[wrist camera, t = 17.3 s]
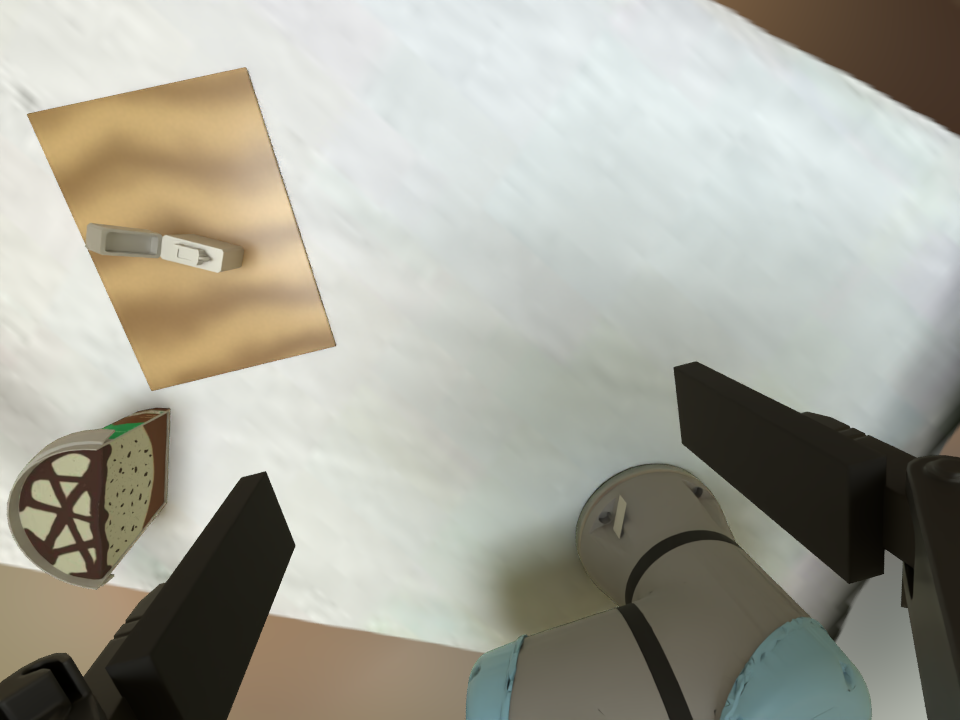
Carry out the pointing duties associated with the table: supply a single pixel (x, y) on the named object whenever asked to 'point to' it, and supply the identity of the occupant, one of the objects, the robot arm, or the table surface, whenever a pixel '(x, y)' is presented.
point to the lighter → (164, 247)
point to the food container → (91, 497)
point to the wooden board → (190, 224)
